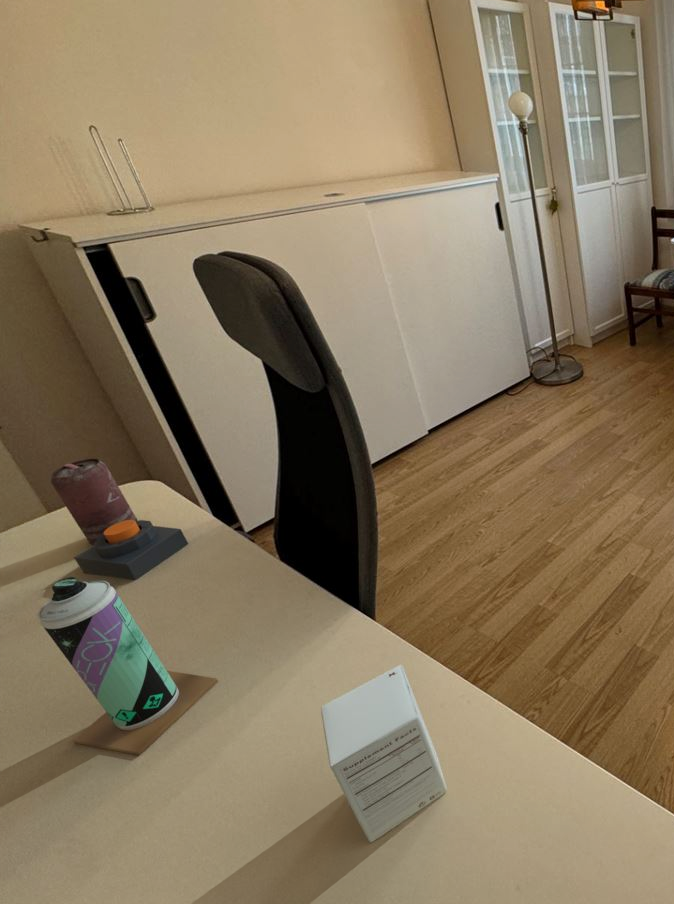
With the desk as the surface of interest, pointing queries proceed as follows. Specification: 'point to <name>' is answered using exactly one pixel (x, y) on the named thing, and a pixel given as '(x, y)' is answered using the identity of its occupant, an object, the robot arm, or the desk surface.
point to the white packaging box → (382, 752)
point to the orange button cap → (121, 531)
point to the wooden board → (141, 738)
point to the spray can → (108, 651)
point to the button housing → (132, 552)
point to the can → (91, 496)
